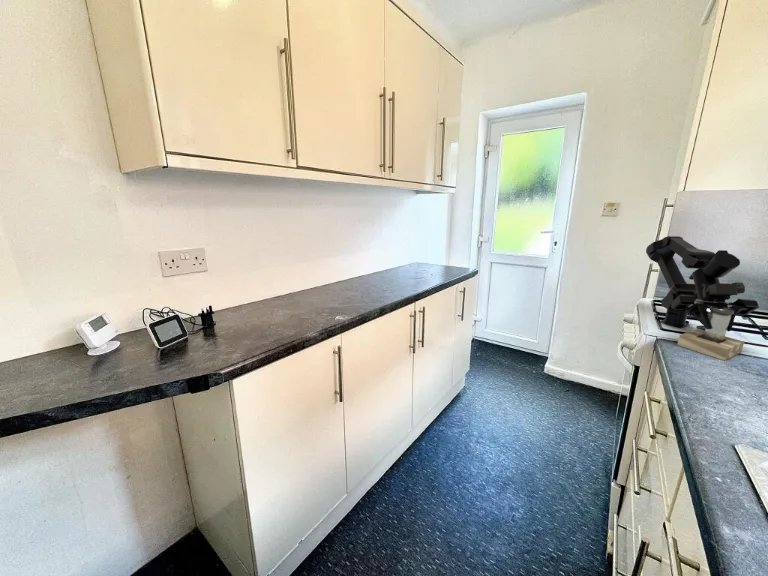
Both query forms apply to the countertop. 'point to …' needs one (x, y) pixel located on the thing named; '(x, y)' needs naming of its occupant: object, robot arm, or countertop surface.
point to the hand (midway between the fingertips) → (719, 329)
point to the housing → (710, 345)
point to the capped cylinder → (718, 323)
